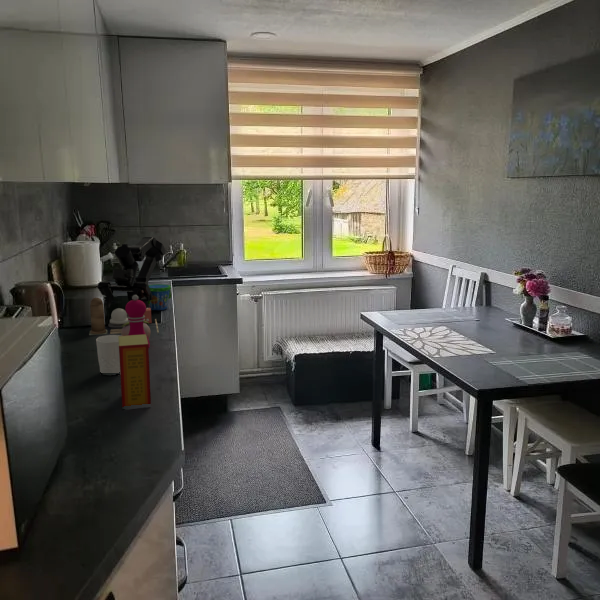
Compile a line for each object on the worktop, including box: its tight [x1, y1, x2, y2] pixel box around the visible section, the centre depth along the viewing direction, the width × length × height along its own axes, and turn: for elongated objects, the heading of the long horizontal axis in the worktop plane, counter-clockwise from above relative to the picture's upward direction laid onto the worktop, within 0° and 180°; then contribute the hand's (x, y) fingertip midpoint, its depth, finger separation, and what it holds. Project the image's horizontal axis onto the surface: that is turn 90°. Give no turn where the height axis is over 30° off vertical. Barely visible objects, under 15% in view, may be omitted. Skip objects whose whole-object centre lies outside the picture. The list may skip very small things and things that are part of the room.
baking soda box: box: [118, 334, 152, 408], centre depth 131 cm, size 10×6×16 cm
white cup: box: [95, 334, 122, 373], centre depth 152 cm, size 8×8×10 cm
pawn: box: [89, 297, 107, 335], centre depth 190 cm, size 5×5×12 cm
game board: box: [88, 318, 160, 336], centre depth 199 cm, size 20×25×2 cm
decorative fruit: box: [120, 321, 151, 339], centre depth 175 cm, size 9×8×10 cm
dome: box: [109, 307, 129, 324], centre depth 201 cm, size 7×7×6 cm
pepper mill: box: [124, 295, 151, 349], centre depth 163 cm, size 7×7×20 cm
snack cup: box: [148, 283, 172, 311], centre depth 234 cm, size 16×10×10 cm
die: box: [144, 307, 153, 324], centre depth 206 cm, size 5×5×5 cm
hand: (118, 307), depth 200 cm, fingers open, 8 cm apart
